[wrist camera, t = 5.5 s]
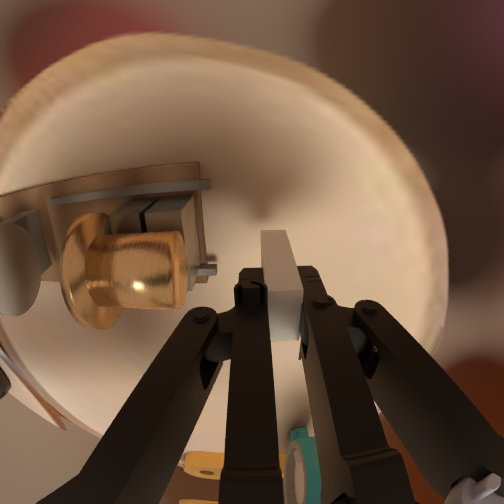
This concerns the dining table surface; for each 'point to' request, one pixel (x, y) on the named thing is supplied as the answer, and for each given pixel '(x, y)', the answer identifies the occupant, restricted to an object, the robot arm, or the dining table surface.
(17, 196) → the pipe jig
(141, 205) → the coupling
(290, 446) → the butterfly valve
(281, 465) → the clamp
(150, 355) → the dining table surface
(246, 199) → the dining table surface
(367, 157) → the dining table surface
